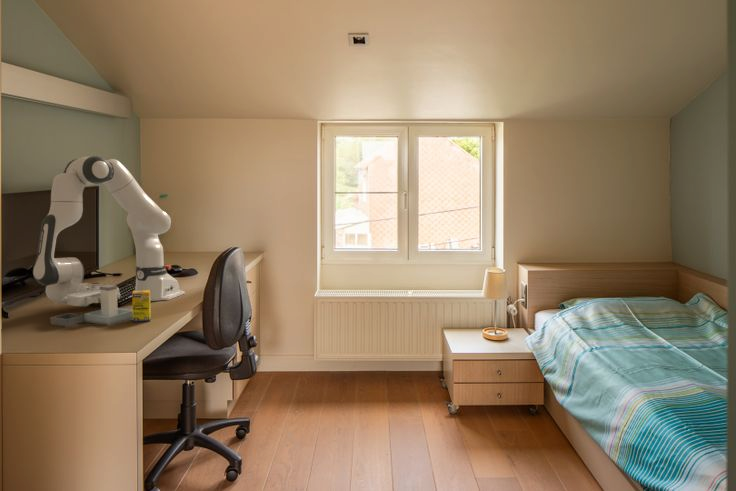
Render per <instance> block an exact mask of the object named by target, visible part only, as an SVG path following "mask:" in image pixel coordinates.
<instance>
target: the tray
mask: <svg viewBox="0 0 736 491" xmlns="http://www.w3.org/2000/svg"><path fill="white" fill-rule="evenodd" d="M83 315H84V319H85V322H84V323H89V322H90V324H97V325H103V326H113V325H115V324H119V323H122V322H125V321H129V320H133V309H127V308H126V309H125V308H120V307H119V308H118V314H117V315H113V316H110V317H106V316H101V309H97V310H94V311H89V312H86V313H84V314H83Z"/></svg>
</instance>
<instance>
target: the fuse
mask: <svg viewBox="0 0 736 491" xmlns="http://www.w3.org/2000/svg"><path fill="white" fill-rule="evenodd" d="M104 285H105V286H100V296H101V301H100V310H101V316H106V317H110V316H113V315H117V314H118V298H117V287H118V285H114V284H104Z"/></svg>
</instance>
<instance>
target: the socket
mask: <svg viewBox="0 0 736 491" xmlns="http://www.w3.org/2000/svg"><path fill="white" fill-rule="evenodd" d="M49 319H50V325H52V326H58V327H65V328H67V327H71V326H74V325H78V324H83V323H86V322H85V319H84V314H80V313H74V312H67V313H63V314H58V315H55V316H50V317H49Z"/></svg>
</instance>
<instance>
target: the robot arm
mask: <svg viewBox="0 0 736 491" xmlns="http://www.w3.org/2000/svg"><path fill="white" fill-rule="evenodd" d="M98 184H99V185H100V184H103V185H104V186H105V188H107V190H108V191H109V193H110V194H111V196H112V197H113V198H114V200H115V201H116V202H117V203H118V205H119V206H120V207H121V208H122V209H124V211H125V212H127V216H126V223H127V225H128V227H129V229H130V231H131V234H132V238H133V242H134V246H135V259H136V266H135V275H136V278H135V288H134V290H136V291H138V290H150V301H151V302H155V301H157V302H158V301H169V300H172V299H174V298H178V297H179V296H183V295H185V294H186V292H185V291H184V290H182V289H180V284H179V281H178V280H177V279H176V278H174V277H173V276H172V275H170V274H169V273H168V271H170V270H171V269H172V265H170V264H169V265H168V264H166V265H165V264H164V246H163V245H162V243H161V241H160V238H159V235H163V234H165V233H167V232H168V231H169V230H170V228H171V224H172V220H171V217H170V215H169V214H168V213H167V212H166V211H164V210H163V209H161V207H159V205H158V204H157V203H156V202H155V201H154V200H153V198H151V197H149V195H148V194H147V193H146V192H145V191H144V190H143V188H142V187H141V185H140V184H139V182H137V180H136V179H135V177H134V176H133V175H132V173H131V172H130V171H129V169H128V168H126V166H125V165H124V164H123V163H121V162H120V161H119V160H117V159H116V158H115V159H114V158H111V159H107V160H106V159H105V158H103V157H101V156H95V155H93V156H92V155H91V156H82V157H80V158H75V159H72V160H71V161H70V162H68V163H67V164H66V166H65V168H64V171H63V172H62V173H59V174H57V175H55V177H54V178H53V180H52V185H51V186H52V187H51V192H50V207H49V212H48V213H47V215H45V217H43V220H42V222H41V228H40V233H39V240H38V246H37V253H36V258H35V261H34V264H33V267H32V276H33V278H34V279H35V281H36V282H38V284H40V285H41V286H45V294H46V297H47V298H48V299H49V300H51V301H52V302H54V303H58V304H62V305H68V306H73V307H84V308H85V307H88V306H90V304H99V303H101V296H100V286H105V285H106V284H103V283H102V282H95V283H93V282H92V283H88V282H83V281H84V277H85V268H84V264H83V262H82V261H81V260H80V259H79V258H77V257H74V256H73V257H69V256H68V257H56V258H55V251H56V250H55V249H56V244H57V238H58V235H59V234H60V232H62V231H63V230H65V229H66V228H68V227H71V226H73V225H75V224H76V223H77V222H79V221H80V219H82V217H83V212H84V208H83V206H84V202H83V201H84V198H83V197H84V196H83V193H84V190H85V187H87V186H93V185H98ZM167 270H168V271H167ZM120 298H121V292H120V288H119V287H118V286H117V299H120Z"/></svg>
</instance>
